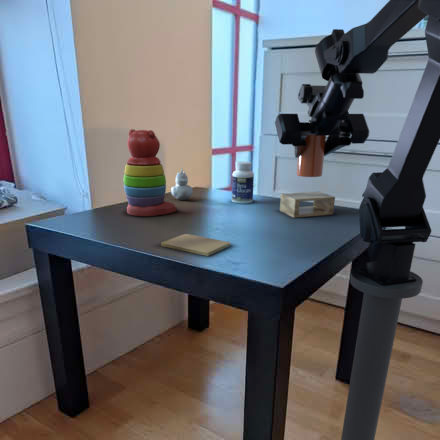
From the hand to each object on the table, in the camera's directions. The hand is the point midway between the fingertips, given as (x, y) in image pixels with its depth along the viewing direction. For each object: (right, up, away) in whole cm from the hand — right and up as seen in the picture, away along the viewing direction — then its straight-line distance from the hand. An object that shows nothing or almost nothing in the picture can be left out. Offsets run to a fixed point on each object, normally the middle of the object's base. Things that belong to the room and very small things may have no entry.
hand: (308, 155), depth 92 cm
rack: (0, -12, +4) cm, 12 cm away
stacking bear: (-36, -12, +4) cm, 38 cm away
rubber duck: (-30, -6, +18) cm, 35 cm away
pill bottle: (-14, -7, +15) cm, 22 cm away
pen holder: (0, -4, 0) cm, 4 cm away
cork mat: (-24, -22, -20) cm, 38 cm away
